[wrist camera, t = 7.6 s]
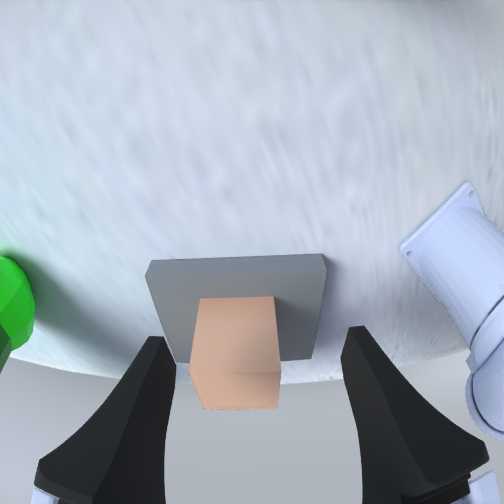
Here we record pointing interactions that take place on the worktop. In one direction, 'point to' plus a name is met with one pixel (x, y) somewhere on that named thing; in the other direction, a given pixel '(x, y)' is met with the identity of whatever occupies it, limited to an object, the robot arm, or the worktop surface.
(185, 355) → the charcoal base
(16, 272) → the plastic bottle
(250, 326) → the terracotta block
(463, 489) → the robot arm
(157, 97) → the worktop surface
